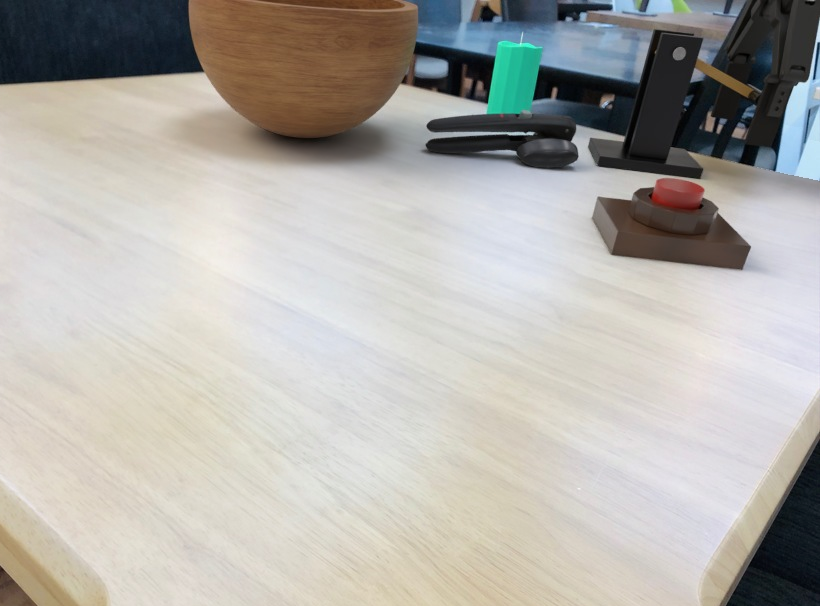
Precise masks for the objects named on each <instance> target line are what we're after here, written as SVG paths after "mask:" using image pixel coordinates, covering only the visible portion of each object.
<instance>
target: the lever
mask: <svg viewBox="0 0 820 606" xmlns="http://www.w3.org/2000/svg"><path fill="white" fill-rule="evenodd" d="M655 54H656V51H655ZM694 69H695V70H697V71H699V72H701V73H703V74H704V75H706V76H708V77H709V78H711V79H714V80H715V81H717V82H719V83H720V84H721V83H722V84H724V85H726V86H728V87H729V88H731V89H733V90H735V91H736V92H738V93H739V95H740V96H741V99H743V100H745V101H747V102H749V104H751V105H754V106H755V107H757V104H758V101H759V98H760V95H761V93H762V90H760V89H759V88H757V87H756V86H753V85H752V84H751V83H750V84H749V83H746V84H745V85H744V84H743V83H741V82H739V81H737V80H735V79H734V78H732V77H730V76H728V75H727V74H725V73H724V72H723V71H721V70H719V68H716V67H714V66H713V65H711V64H709V63H707V62H705V61H704V60H702V59H700V58H699V57H698V58H697V62H696V65H695V68H694Z"/></svg>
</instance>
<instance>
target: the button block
mask: <svg viewBox="0 0 820 606" xmlns="http://www.w3.org/2000/svg"><path fill="white" fill-rule="evenodd" d="M654 187H655V186H651V187H649V186H648V187H640V188H638V189H637V190H635V191H634V192H633V193H632V197H631V199H624V198H614V197H604V196H596V197H597V198H596V200H595V205H594V209H593V212H592V217H591V219H592V221H593V223H594V225H595V227H596V229H597V230H598V232H599V234H600V236H601V238H602V240H603V241H604V243H605V245H606V248H607V249H608V251H609V253H610V255H611V256H617V257H626V258H627V257H628V258H633V259H634V258H635V259H644V260H652V261H660V262H669V263H678V264H687V265H696V266H703V267H704V266H705V267H713V268H721V269H729V270H740V271H742V270H743V269H744V266H745V264H746V262H747V259H748V256H749V254H750V252H751V248H752V246H751V245H750V244H749V242H748V241H747V240H745V239H744V238H743V236H741V234H739V232H738V231H737V230H735V229H734V227H733V226H732V225H730V223H729V222H728V221H727V220H726V219H725V218H724V217H723V216H722V215H721V213H719V211H720V208H719V207H718V206H717V205H716V204H715V203H714V202H713V201H712V200H710V199H707V198H705V197H703V198H702V201H701V204H700V207H699V209H697V210H686V209H678V208H673V207H669V206H665V205H661V204H659V203H657V202H655V201H653V200H651V197H652V194H653V190H654Z"/></svg>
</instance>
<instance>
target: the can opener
mask: <svg viewBox="0 0 820 606" xmlns="http://www.w3.org/2000/svg"><path fill="white" fill-rule="evenodd" d="M576 123H577V122H576V121H575V119H573V117H571V116H569V115H563V114H562V115H560V114H549V113H547V114H545V113H532V111H527V110H522V111H521V113H520V114H514V113H512V114H506V113H500V114H486V113H482V114H481V113H479V114H468V115H457V116H447V117H441V118H434V119H431V120H429V121H428V122H427V124H426V125H425V127H426V129H427V130H428V131H430V132H431V133H495V134H481V135H461V136H460V135H459V136H447V137H437V138H435V137H434V138H431V139H429V140H428V141H427V142H426V143H425V148H426V149H427V150H429V152H432V153H440V154H472V153H482V152H491V151H493V152H494V151H512V152H516V153H515V154H516V156H517V157H518V158H519V159H520V160H521V162H522V163H524V164H525V165H528V166H530V167H534V168H558V167H559V168H560V167H564V166H568V165H571V164H574V163H575V162H576V161H578V160H579V158H580V157H579V156H580V155H579V150H578V146H577V145H576V144H575V143H573V142H572V141H573V139H574V137H575V135H576V133H577V124H576ZM496 133H501V134H496ZM508 133H524V134H508ZM528 133H532V134H528Z"/></svg>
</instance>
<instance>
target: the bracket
mask: <svg viewBox="0 0 820 606" xmlns="http://www.w3.org/2000/svg"><path fill="white" fill-rule="evenodd" d="M703 42H704V37H702V36H695V34H694V33H693V32H689V31H679V30H670V29H660V28H653V31H652V33H651V38H650V42H649V45H648V49H647V53H646V57H645V60H644V64H643V68H642V71H641V76H640V79H639V83H638V86H637V91H636V94H635V98H634V101H633V105H632V108H631V112H630V115H629V116H630V117H629V120H628V124H627V127H626V131H625V136H624V139H623V141H622V140H613V139H605V138H597V137H589V141H588V145H587V148H588V149H589V151H590V154H591V155H592V157H593V160H594V161H595V164H596V166H597V167H603V168H612V169H620V170H628V171H635V172H643V173H652V174H660V175H667V176H668V175H669V176H677V177H684V178H692V179H701V178H702V175H703V172H704V168H703V167H702V166H701V165H700V163H699V162H698V161H697V160H696V159H695V158H694V157H693V156H692V155H691V154H690V153H689V152H688V151H687V149H685V148H679V147H673V146H672V145H673V141H674V138H675V134H676V131H677V128H678V124H679V121H680V117H681V114H682V111H683V109H684V108H683V107H684V104H685V101H686V99H687V94H688V91H689V88H690V85H691V81H692V78H693V75H694V71H695V69H696V68H695V65H696V62H697V58H698V59H699V55H700V52H701V49H702V45H703ZM655 51H656V54H655Z"/></svg>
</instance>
